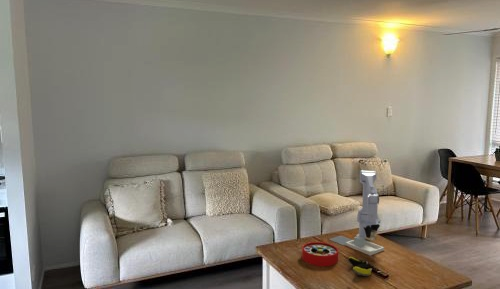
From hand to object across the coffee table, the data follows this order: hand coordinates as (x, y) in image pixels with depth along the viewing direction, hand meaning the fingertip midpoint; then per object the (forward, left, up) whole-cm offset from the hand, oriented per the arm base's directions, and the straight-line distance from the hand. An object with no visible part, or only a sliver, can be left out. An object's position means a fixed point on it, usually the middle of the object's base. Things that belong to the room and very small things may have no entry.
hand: (370, 236), depth 222 cm
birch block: (0, 0, -1) cm, 1 cm away
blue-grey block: (0, -8, -8) cm, 11 cm away
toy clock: (+32, -10, -9) cm, 35 cm away
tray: (0, -4, -9) cm, 10 cm away
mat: (+2, -19, -9) cm, 22 cm away
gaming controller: (+27, +14, -9) cm, 32 cm away
